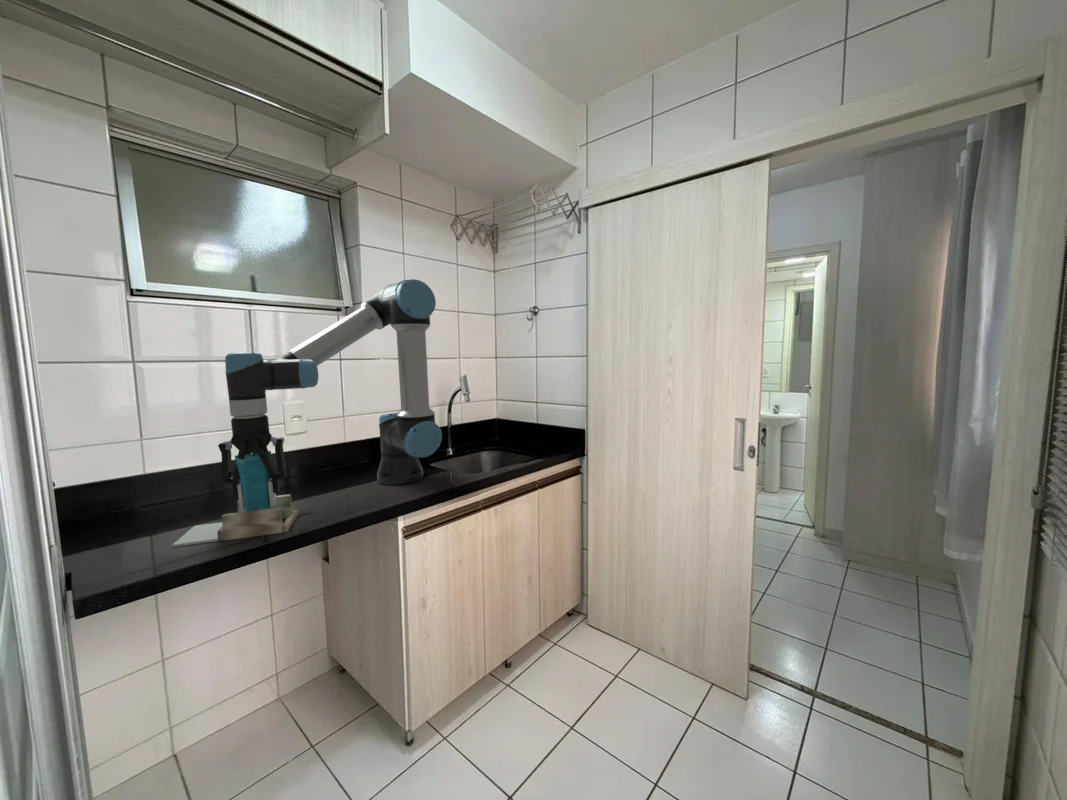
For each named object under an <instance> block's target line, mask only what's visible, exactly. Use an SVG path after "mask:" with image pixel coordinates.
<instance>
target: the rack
mask: <svg viewBox="0 0 1067 800" xmlns="http://www.w3.org/2000/svg"><path fill="white" fill-rule="evenodd" d="M276 500H277V504H276V505H275V506H274V507H272V509H263V510H255V511H246V508H245V509H244V510H243V511H240V507H239V499H238V500H237V501H236V504H237V512H229V513H224V514H223V513H222V515H221V522H222V525H223V526H222V527H221V528H220V529H219V530H218V531H217V535H218V541H217V542H222V541H223V542H224V541H231V540H237V539H245V538H253V537H258V536H268V535H277V534H282V533H288V532H289V531H290V529H291V527H292V525H293V524H294V522H295V520H296V519H297V517H298V516H299V515H298V513H299V512H298V509H293V503H292V494H291V493H290V494H281V495H280V494H279V495H276ZM283 519H285V521H283Z"/></svg>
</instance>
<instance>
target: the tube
mask: <svg viewBox="0 0 1067 800" xmlns="http://www.w3.org/2000/svg"><path fill="white" fill-rule="evenodd" d="M268 454H269V457H270V458H271V459H272V451H271V450H268ZM234 460H235V463H237V467H238V471H239V475H240V480H241V481H240V483H241V485H242V490H243V495H244V500H245V506H246V511H255V510H263V509H272V507H270V498H269V487H268V482H269V481H270V480H271V478H270V476H269V474H268V472H267V470H266V467H265V465H264V463H263V461H262V459H261V457H260V456H259V455H258V454H255V453H251V454H245V457H244V459H243V460H242V459H239V458H238V454H236V455H234Z"/></svg>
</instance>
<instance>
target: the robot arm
mask: <svg viewBox="0 0 1067 800" xmlns="http://www.w3.org/2000/svg"><path fill="white" fill-rule="evenodd" d="M436 302H437V301H436V295H435V294H434V292H433V290H432V288H430V286H429V285H428V284H426V282H424V281H422V280H420V279H419V280H418V279H415V278H414V279H413V278H412V279H403V280H401V281H399V282H396V283H392V284H389V285H387V286H385V287H383V288H382V289H381V290H379V291H378V292H377V293H376V294H374V295H372V296H371V297H369V298H368V299H367V300H365V301H363V302H362V303H361V304H360V308H358V309H357V310H355V311H353V312H352V313H350V314H349V315H347V316H345V317H343V318H342V319H340V320H339V321H337V322H335V323H333V324H332V325H330V326H329V327H327V328H325V329H324V330H321V331H320V332H319V333H317V334H315V335H314V336H312V337H310V338H308V339H307V340H305V341H303V342H301V343H300V344H298V345H297V346H295V347H293V348H291V349H290V350H288V351H287V352H286V353H284V354H282V355H280V356H279V357H276V358H273V359H271V360H266V359H264V357H263V355H262V353H260V352H231V353H230V352H229V353H227V355H226V356H225V358H224V359H225V361H224V363H225V378H226V379H225V380H226V386H227V393H228V395H227V396H228V402H229V414H230V416H231V417H232V418H231V420H230V424H231V430H232V431H231V432H232V436H231V439H230V440H228V441H222V442H221V443H219V444H218V445H217V447H218V449H219V451H220V454H221V471H222V472H221V474H222V475H221V476H222V483H223V484H231V485H232V491H233V497H234V498H238V500H239V507H240V511H243V510H244V509H245V508H246V506H245V500H244V495H243V490H242V485H241V480H240V475H239V471H238V467H237V463H236V462H235V463H236V464H235V467H234V472H233V470H232V469H233V464H232V448H233V446H234V447H235V448H236V449H237V450H238V454H237V455H238V458H239V459H242V460H243V459H244V457H245V454H252V453H255V454H258V455H259V456H260V457H261V459H262V461H263V463H264V465H265V467H266V470H267V472H268V474H269V476H270V481H269V482H268V487H269V498H270V507H274V506H275V505H276V504H277V500H276V496H277V494H278V493H279V491H280V490H281V488H280V487H281V486H280V479H282V478H284V477H286V475H287V474H288V471H287V466H286V464H287V463H286V460H285V459H286V458H285V452H284V442H285V438H284V437H283V436H282V437H281V436H280V437H275V436H272V434H271V432H270V424H269V416H268V415H266V414H267V413H268V405H267V404H268V403H267V393H266V392H267V391H275V390H277V391H278V390H295V389H303V390H304V389H307V388H314V387H316V386H317V385H318V383H319V371H318V370H319V369H318V366H319V365H321V364H323V363H325V361H328V360H329V359H331V358H332V357H334V356H336V354H338V353H340V352H342V351H343V350H345V349H346V348H348V347H350V346H351V345H352V344H354V343H356V342H357V341H359V340H360V339H362V338H364V337H365V336H366V335H368V334H370V333H371V332H373V331H374V330H383V329H384V328H385V327H387V326H389V325H390V327H392V328H393V329H394V330H395V332H396V346H397V362H398V376H399V377H398V378H399V380H398V381H399V396H400V397H399V398H400V410H399V411H398V412H391V413H389V412H388V413H383V414H381V415H380V416H379V417H378V418H379V420H378V421H379V422H378V427H379V440H380V456H381V459H380V462H379V466H378V468H377V473H376V479H377V482H378V483H379V484H382V485H388V486H389V485H391V486H392V485H393V486H394V485H395V486H396V485H407V484H410V483H413V482H417V481H420V480H421V479H422V478H423V477H424V470H423V467H422V464H421V462H420V459H419V458H423V459H424V458H427V457H430V456H431V455H433V454H434V453H435V452H436V451H437V450H438V449H439V448H440V445H441V443H442V440H443V432H442V430H441V427H440V426H439V425H438V424H437V422H436V417H435V414H436V413H435V411H434V410H433V409H431V407H430V398H429V397H430V396H429V395H430V394H429V380H428V379H429V377H428V356H427V337H426V336H427V335H426V332H427V330H428V329H429V328H430V327H431V316H432V314H433V312H434V311H435V309H436V305H437V303H436ZM270 443H272V446H273V447H274V451H275V459H276V465H277V468H276V465H275V464H274V461H273V460H272V457H271V458H270V457H269V454H268V451H269V449H268V446H269V444H270Z"/></svg>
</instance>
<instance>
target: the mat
mask: <svg viewBox="0 0 1067 800" xmlns="http://www.w3.org/2000/svg"><path fill="white" fill-rule="evenodd" d="M222 526H223V525H222V521H220V522H213V523H206V524H205V523H204V524H199V525H194V526H192V528H190V529H189V530H188V531H186V532H185V533H184V534H183V535H182V536H180V537H179V538H178V539H177V540H176V541H175V542H174V543H173V544H172V547H173V548H175V547H176V548H177V547H183V546H191V545H198V544H207V543H214V542H215V543H216V542H219V541H218V535H217V531H218V530H219V529H220V528H221V527H222Z"/></svg>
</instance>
